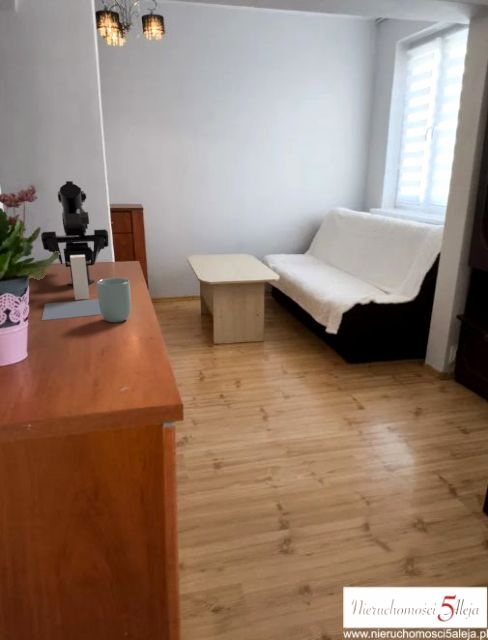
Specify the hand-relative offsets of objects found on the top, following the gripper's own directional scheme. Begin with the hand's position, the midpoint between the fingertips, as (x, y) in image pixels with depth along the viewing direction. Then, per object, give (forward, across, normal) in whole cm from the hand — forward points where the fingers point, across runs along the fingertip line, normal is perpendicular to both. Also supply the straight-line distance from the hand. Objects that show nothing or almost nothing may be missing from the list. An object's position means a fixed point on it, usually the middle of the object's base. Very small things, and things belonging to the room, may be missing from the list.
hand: (78, 262), depth 134 cm
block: (+9, 0, +6) cm, 10 cm away
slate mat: (+17, 0, -3) cm, 17 cm away
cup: (+27, +8, -12) cm, 31 cm away
